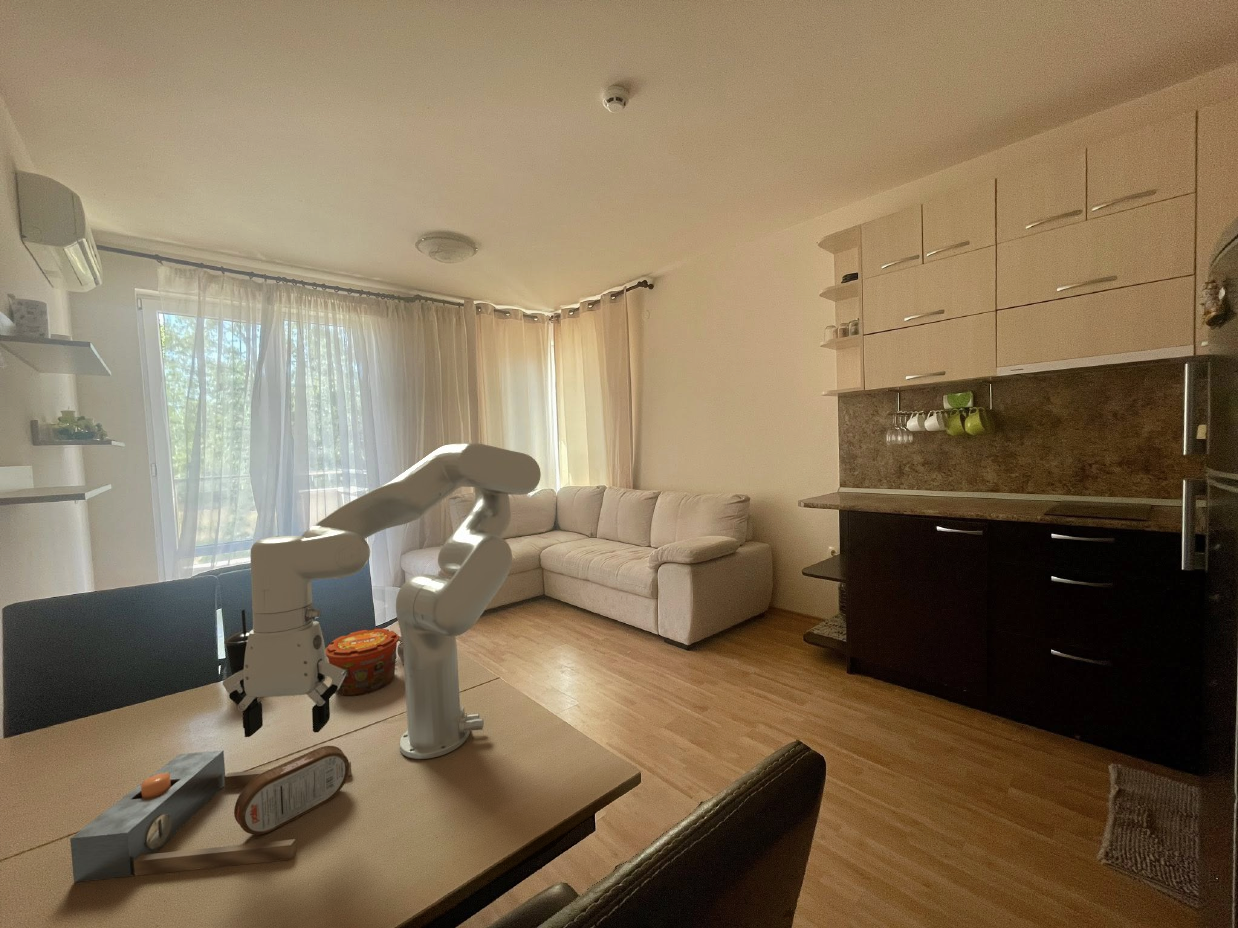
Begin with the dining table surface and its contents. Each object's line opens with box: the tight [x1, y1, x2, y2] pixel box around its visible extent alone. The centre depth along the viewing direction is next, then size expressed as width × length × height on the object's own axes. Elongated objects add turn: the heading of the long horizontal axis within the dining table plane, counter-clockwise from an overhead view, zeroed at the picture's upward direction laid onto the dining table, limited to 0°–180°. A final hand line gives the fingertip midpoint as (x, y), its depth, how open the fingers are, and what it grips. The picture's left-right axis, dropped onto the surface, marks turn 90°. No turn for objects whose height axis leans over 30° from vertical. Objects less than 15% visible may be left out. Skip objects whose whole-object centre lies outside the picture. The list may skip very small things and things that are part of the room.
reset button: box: [140, 773, 171, 798], centre depth 74 cm, size 3×3×3 cm
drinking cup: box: [223, 609, 252, 688], centre depth 116 cm, size 8×8×20 cm
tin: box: [233, 745, 350, 836], centre depth 76 cm, size 15×3×8 cm, turn 141°
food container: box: [325, 628, 400, 697], centre depth 119 cm, size 16×16×11 cm
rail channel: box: [134, 761, 352, 876], centre depth 76 cm, size 20×18×2 cm
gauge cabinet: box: [69, 749, 226, 883], centre depth 75 cm, size 7×18×6 cm, turn 5°
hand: (287, 729), depth 75 cm, fingers open, 9 cm apart
